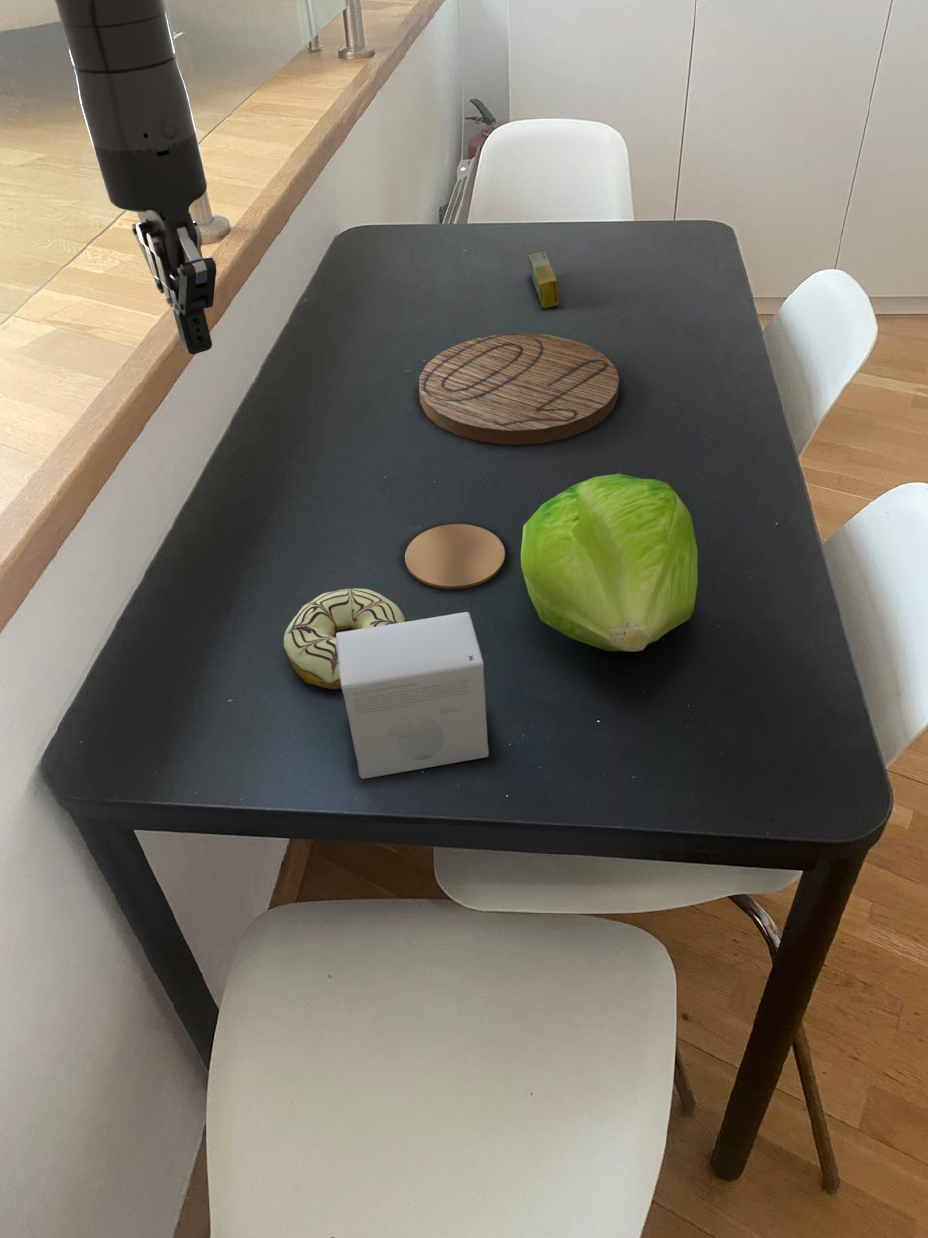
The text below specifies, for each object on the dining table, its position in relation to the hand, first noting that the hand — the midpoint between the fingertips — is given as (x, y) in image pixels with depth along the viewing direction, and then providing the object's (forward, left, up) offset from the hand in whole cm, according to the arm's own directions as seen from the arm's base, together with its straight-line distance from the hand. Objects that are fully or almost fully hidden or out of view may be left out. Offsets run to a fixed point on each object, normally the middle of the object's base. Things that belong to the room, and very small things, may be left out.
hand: (198, 348), depth 80 cm
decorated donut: (+5, -19, -22) cm, 30 cm away
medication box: (+53, +44, -22) cm, 73 cm away
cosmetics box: (+8, -31, -22) cm, 39 cm away
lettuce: (+28, -25, -22) cm, 44 cm away
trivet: (+38, +18, -22) cm, 48 cm away
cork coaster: (+19, -10, -22) cm, 31 cm away
